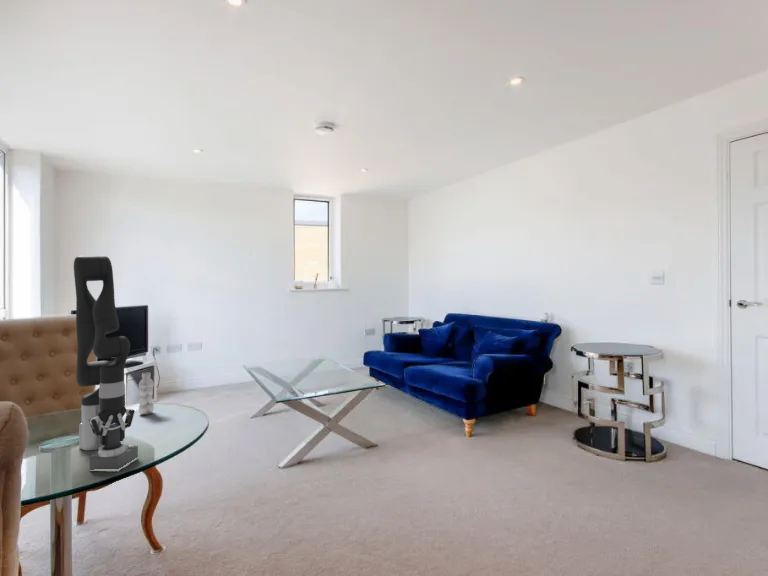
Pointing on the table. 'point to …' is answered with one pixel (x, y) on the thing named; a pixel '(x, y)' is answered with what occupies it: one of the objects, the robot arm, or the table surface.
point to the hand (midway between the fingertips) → (112, 442)
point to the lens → (113, 437)
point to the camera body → (113, 457)
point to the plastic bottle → (146, 394)
